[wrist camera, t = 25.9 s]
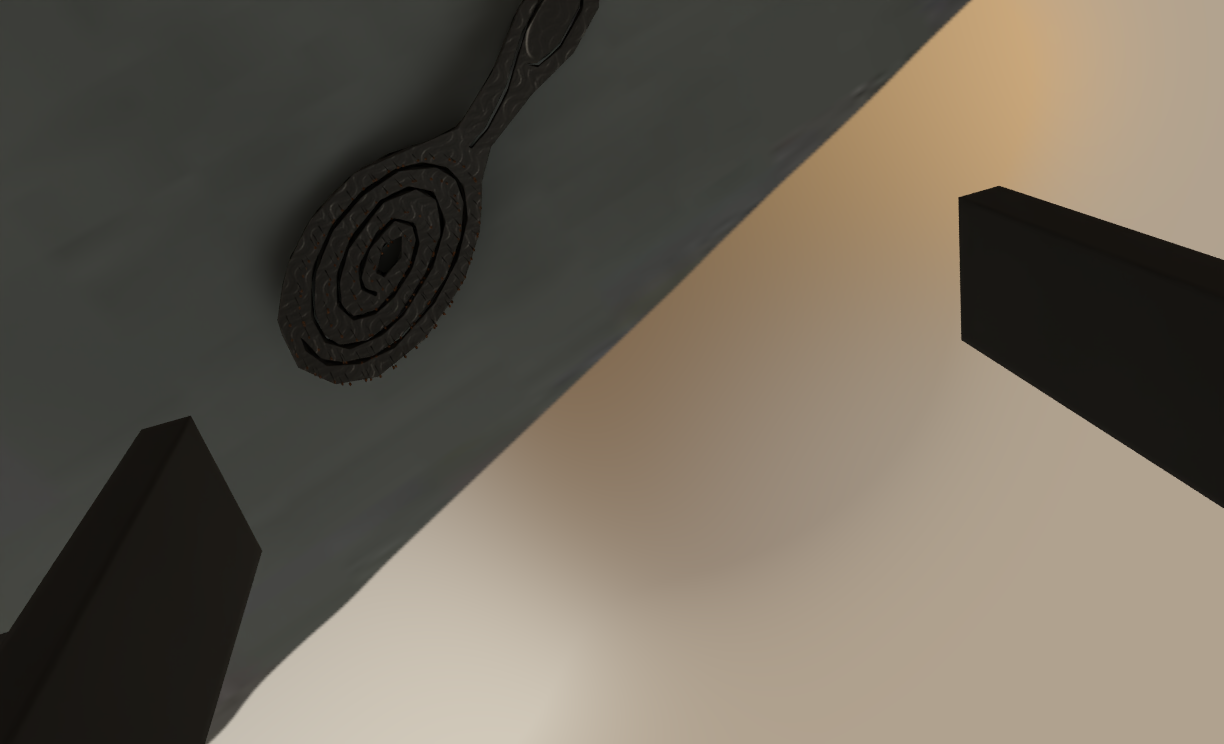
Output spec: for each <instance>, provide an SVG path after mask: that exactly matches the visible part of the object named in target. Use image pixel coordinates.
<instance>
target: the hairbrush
mask: <svg viewBox="0 0 1224 744" xmlns="http://www.w3.org/2000/svg"><path fill="white" fill-rule="evenodd" d="M579 1H580V9H579V11H578V13H577V15H576V17H575V19H574V21H573V23H572V25H571V27H570V29H569V31H568V32H567V34H566V36H565V38H564V39H563V41H562V43H561V45H560V46H559V47H558V48H557V49H556V50H555V51H554V52H553V53H552V54H551V55H550V56H549V57H548V58H547V59H546V60H544V61H543V62H542V63H541V64H540V65H528V64H530V63H537V62H539V61H540V60H542V59H543V58H544V57H546V56H547V55H548V54H549V53H550V52H551V51H552V50H553V49H554V48H555V47H556V46H557V45H558V44H559V43H560V42H561V40H562V38H563V36H564V34H565V32H566V30H567V29H568V27H569V25H570V23H571V21H572V19H573V17H574V15H575V13H576V11H577V10H578V8H579ZM537 2H538V0H523V1H522V3H521V4H520V6H519V8H518V10H517V12H516V14H515V16H514V18H513V21H512V23H511V26H510V29H509V31H508V33H507V35H506V38H505V40H504V42H503V45H502V48H501V50H500V53H499V55H498V58H497V60H496V63H495V65H494V68H493V69H492V71H491V73H490V75H489V77H488V78H487V80H486V82H485V83H484V85H483V87H482V88H481V90H480V92H479V93H478V95H477V97H476V98H475V100H474V102H473V103H472V105H471V106H470V108H469V110H468V111H467V113H466V115H465V116H464V118H463V119H462V120H461V121H460V122H459V123H458V125H457V126H456V127H454V128H452V129H450V130H448V131H447V132H445V133H443V134H441V135H439V136H437V137H436V138H434V139H432V140H430V141H427V142H424V143H420V144H416V145H412V146H410V147H408V148H405V149H402V150H399V151H396V152H393V153H389V154H387V155H385V156H383V157H381V158H379V159H378V160H376V161H375V162H373V163H372V164H370V165H367V166H365V167H363V168H362V169H360V170H359V171H357V172H356V173H355V174H354V175H352V176H351V177H349V178H348V179H347V180H346V181H345V182H344V183H343V184H342V185H341V186H340V187H339V188H338V189H337V190H336V191H335V192H334V193H333V194H332V195H330V197H329V198H328V199H327V200H326V202H325V203H324V204H323V205H322V206H321V207H320V208H319V209H318V210H317V212H316V213H315V215H314V216H313V218H312V219H311V220H310V222H309V223H308V225H307V226H306V228H305V230H304V232H303V234H302V236H301V238H300V240H299V242H298V245H297V247H296V248H295V250H294V252H293V254H292V255H291V257H290V261H289V264H288V266H287V270H286V274H285V278H284V282H283V286H282V292H281V299H280V306H279V313H278V323H279V326H280V330H281V333H282V335H283V337H284V339H285V341H286V343H287V346H288V348H289V350H290V352H291V354H292V356H293V358H294V360H295V362H296V364H297V366H298V368H301V369H303V370H305V371H307V372H309V373H312V374H314V375H315V376H318V377H319V378H323V379H325V380H327V381H330V382H332V383H334V384H339V383H341V384H342V385H343V383H345V382H349V385H350V386H351V385H352V384H351V383H350V381H356V380H362V379H365V381H366V382H367V379H368V378H370V381H372V378H373V377H378V376H380V378H381V377H382V376H381V374H382V373H383V372H384V371H386V370H387V369H388V368H389V367H391V366H393V364H394V363H396V362H397V361H398V360H399V359H400V358H402V357H403V356H404V357H405V358H406V357H407V356H405V354H407V353H408V352H409V351H410V350H412V349H413V348H414V347H415V348H416V349H417V348H418V347H417V345H418V344H419V343H420V342H422V341H423V340H424V339H425V338H427V337H428V336H427V335H428V334H429V332H430V331H431V330H432V328H433V327H434V329H435V328H436V327H437V324H436V322H437V321H438V319H439V318H440V316H441V315H442V314H443V315H446V314H445V313H444V311H445V309H446V307H447V306H448V305H449V303H450V301H451V303H453V301H452V298H453V297H454V295H455V294H456V292H457V290H460V289H459V287H460V286H461V284H463V281H464V280H465V278H466V274H467V270H468V267H469V265H470V263H471V262H470V261H471V260H472V254H473V251H475V249H474V248H475V245H476V242H477V238H478V237H479V236H478V235H479V232H480V223H481V222H480V217H481V209H482V207H481V199H482V179H483V175H484V171H485V167H486V164H487V160H488V156H489V152H490V148H491V146H492V145H493V144H494V142H495V141H496V140H497V138H498V137H499V136H500V135H501V133H502V132H503V131H504V130H505V128H506V127H507V126H508V124H509V123H510V122H511V121H512V119H513V118H514V117H515V115H516V114H517V113H518V112H519V110H520V109H521V108H522V106H523V105H524V104H525V103H526V101H527V100H528V99H529V97H530V96H531V95H532V94H533V93H534V92H535V91H536V90H537V89H538V88H539V87H540V86H541V85H542V84H543V83H544V82H545V81H546V80H547V79H548V78H549V77H550V76H551V75H552V74H553V73H554V72H555V71H556V70H557V69H558V68H559V67H560V66H561V65H562V64H563V63H564V62H565V61H566V60H567V59H568V58H569V57H570V56H571V55H572V54H573V53H574V51H575V49H576V47H577V46H578V44H579V42H580V40H581V38H582V37H583V35H584V33H585V31H586V29H587V28H588V26H589V24H590V22H591V20H592V19H593V17H594V15H595V13H596V11H597V9H598V8H599V0H542V1H541V2H540V4H539V5H538V6H537V7H536V8H535V6H536V4H537ZM534 8H535V11H534V13H533V15H532V17H531V18H530V16H531V14H532V12H533V10H534ZM529 18H530V19H529ZM528 20H529V22H528ZM527 22H528V25H527V28H526V31H525V34H524V37H523V41H522V44H521V47H520V50H519V52H518V55H517V59H516V62H515V66H514V69H513V72H512V76H511V79H510V83H509V86H508V89H507V91H506V93H505V95H504V98H503V100H502V102H501V104H500V106H499V108H498V109H497V111H496V113H495V115H494V117H493V119H492V121H491V123H490V125H489V126H488V128H487V129H486V131H485V132H484V133H483V134H482V135H481V137H480V138H479V139H478V140H477V141H476V142H475V143H474V145H473V146H472V147H470V146H469V145H470V144H471V143H472V142H473V141H474V140H475V138H476V137H477V136H478V135H479V134H480V133H481V132H482V131H483V130H484V128H485V127H486V125H487V123H488V121H489V119H490V117H491V115H492V113H493V111H494V109H495V107H496V105H497V103H498V101H499V99H500V97H501V95H502V93H503V91H504V89H505V87H506V84H507V80H508V77H509V73H510V70H511V67H512V63H513V60H514V56H515V53H516V50H517V46H518V43H519V39H520V36H521V34H522V32H523V30H524V28H525V26H526V24H527ZM420 162H425V163H430V164H435V165H440V166H445V167H448V168H449V169H450V170H451V171H452V173H453V174H454V175H455V176H456V177H457V178H458V180H459V181H460V183H461V185H462V186H463V191H464V195H465V200H466V223H465V228H464V233H463V238H462V241H461V244H460V247H459V249H458V252H457V255H456V258H455V261H454V264H453V267H452V270H451V273H450V275H449V276H448V278H447V279H446V281H445V282H444V284H443V286H442V287H441V289H440V290H439V292H438V294H437V295H436V297H435V298H434V300H433V302H432V303H431V301H430V300H431V299H432V297H433V296H434V294H435V293H437V290H438V288H439V287H440V285H441V284H442V282H443V281H444V279H445V278H446V275H447V272H448V270H449V267H451V266H450V264H451V261H452V259H453V256H454V254H455V253H456V252H455V250H456V248H457V245H458V242H459V240H460V236H461V228H462V218H463V198H462V194H461V190H460V188H459V186H458V184H457V182H456V180H455V178H454V177H453V175H452V174H450V173H449V172H447V171H446V170H444V169H442V168H439V167H434V166H423V165H415V166H411V167H409V168H406V169H404V170H402V171H399V172H397V173H395V174H392V175H390V176H388V177H386V178H384V179H383V180H381V181H379V182H378V183H376V184H375V185H374V186H373V187H372V188H371V189H370V190H369V191H368V192H367V193H366V194H364V195H363V196H362V197H361V198H360V199H359V200H358V201H357V202H356V203H355V204H354V205H353V206H352V207H351V208H350V209H349V210H348V211H347V212H346V214H345V215H344V216H343V218H342V219H341V221H340V222H339V223H338V225H337V226H336V228H335V229H334V231H333V232H332V234H331V236H330V238H329V240H328V241H327V243H326V246H325V249H324V251H323V254H322V257H321V261H320V264H319V267H318V270H317V273H316V288H315V313H316V315H317V318H318V321H319V323H320V326H321V328H322V330H321V328H320V326H319V325H318V323H317V321H316V319H315V317H314V307H313V297H312V288H311V283H312V279H313V275H314V271H315V267H316V263H317V259H318V255H319V252H320V249H321V247H322V245H323V243H324V241H325V238H326V236H327V235H328V233H329V232H330V230H331V229H332V227H333V226H334V224H335V223H336V221H337V220H338V218H339V217H340V215H341V214H342V213H343V211H344V210H345V209H346V208H347V207H348V206H349V205H350V203H351V202H352V201H353V200H354V199H355V198H356V197H357V195H358V194H359V193H360V192H361V191H362V190H365V188H366V187H368V186H369V185H371V184H372V183H374V182H375V181H377V180H379V179H380V178H382V177H383V176H385V175H386V174H388V173H389V172H391V171H392V170H394V169H396V168H397V169H399V168H400V167H404V166H408V165H412V164H416V163H420ZM406 187H415V188H413V189H410V190H407V191H403V192H401V193H398V194H395V195H393V196H391V197H390V198H388V199H386V200H385V201H383V203H382V204H381V205H380V206H379V207H378V208H377V210H376V211H375V212H374V213H373V214H372V216H371V217H370V218H369V219H368V220H367V222H366V223H365V225H364V226H363V228H362V229H361V231H360V232H359V233H358V235H357V236H356V238H355V240H354V241H353V243H352V245H351V247H350V248H349V251H348V254H347V257H346V260H345V263H344V265H343V269H342V272H341V275H340V289H341V298H342V303H341V302H340V301H339V295H338V282H339V267H340V264H341V260H342V258H343V255H344V253H345V250H346V248H347V246H348V245H349V243H350V241H351V239H352V237H353V236H354V234H355V232H356V230H357V229H358V227H359V226H360V225H361V223H362V222H363V221H364V220H365V218H366V217H367V216H368V215H369V213H370V212H371V211H372V210H373V208H374V207H375V206H376V205H377V204H378V203H379V202H381V201H382V200H383V199H384V198H385V197H387V196H389V195H391V194H393V193H395V192H397V191H399V190H402V189H404V188H406ZM419 188H420V189H419ZM422 189H425V190H429V191H432V192H433V193H434V194H435V195H436V198H437V200H438V203H439V205H440V208H441V210H442V215H443V217H442V238H441V242H440V246H439V249H438V253H437V255H436V256H435V258H434V260H433V262H432V264H431V265H430V267H429V268H427V267H428V264H429V262H430V259H431V257H434V255H435V252H434V249H435V247H436V245H437V242H438V240H439V237H440V235H441V233H440V217H439V212H438V207H437V201H436V198H435V197H434V196H432V195H431V194H429V193H427V192H426V191H424V190H422ZM392 219H396V220H394V221H393V222H391V223H390V224H389V225H387V226H386V227H385V228H384V229H383V230H382V231H381V233H380V234H379V235H378V236H377V237H376V239H375V241H374V242H373V243H372V246H371V248H370V250H369V252H368V254H367V257H366V260H365V263H364V267H363V274H362V280H363V283H364V285H365V286H363V285H362V284H361V283H360V271H361V264H362V258H363V256H364V255H365V253H366V251H367V249H368V247H369V245H370V243H371V241H372V239H373V238H374V236H375V234H376V232H377V231H378V230H379V229H380V230H381V229H382V228H381V227H383V226H385V224H386V223H387V222H389V221H390V220H392ZM405 220H406V221H405ZM408 221H410V222H412V224H411V223H409V222H408ZM413 225H414V227H415V229H416V230H417V235H418V247H417V253H416V256H415V258H414V260H413V263H412V262H411V261H410V260H411V257H412V253H413V251H414V247H415V243H416V236H415V229H414V227H413ZM398 237H402V247H401V251H400V255H399V258H398V260H397V262H396V263H395V264H394V265H393V266H392V267H391V268H390V269H389V270H388V271H387V272H385V273H383V272H381V271H380V270H378V264H379V260H380V256H381V254H382V255H383V252H382V248H383V247H384V246H385V245H386V243H387V242H389V241H391V240H394V239H396V238H398ZM391 243H393V241H391ZM387 247H389V245H388V244H387ZM432 254H433V255H432ZM411 263H412V265H411V267H410V266H409V264H411ZM409 267H410V269H409V271H408V273H407V275H406V277H405V275H404V273H405V271H406V270H407V268H409ZM426 269H427V270H428V271H427V273H426V274H425V271H426ZM424 274H425V276H424ZM402 276H403V277H405V279H404V281H403V283H402V284H401V285H400V287H399V288H398V289H397V285H398V283H399V282H400V280H401V278H402ZM423 276H424V277H423ZM422 277H423V280H422V281H421V279H422ZM420 281H421V283H420V285H419V287H418V289H417V291H416V292H415V294H413V295H414V296H413V298H412V300H411V299H409V298H410V296H411V295H412V293H413V291H414V290H415V288H416V287H417V285H418V284H419V282H420ZM395 288H396V289H397V290H396V289H395ZM368 289H369V290H372V291H369V290H368ZM393 291H395V293H394V294H393V295H392V296H391V298H390V299H389V300H388V298H387V297H388V296H389V295H390V294H391V293H392V292H393ZM385 299H386V300H387V302H386V303H385V304H384V305H383V306H381V307H380V308H378V307H379V306H380V305H381V304H382V303H383V302H384V300H385ZM408 299H409V302H410V303H409V305H408V306H406V302H407V301H408ZM430 303H431V305H430V306H429V307H428V308H427V309H426V310H425V312H424V313H423V314H422V315H420V314H421V313H422V312H423V311H424V309H425V308H426V306H427V305H429V304H430ZM404 306H406V307H405V308H406V309H405V310H404V312H403V313H402V314H401V315H400V316H399V317H398V315H399V313H400V312H401V310H402V309H403V307H404ZM344 307H345V308H346V309H347V310H348V311H349V312H350V313H351V314H352V315H350V314H348V312H347V311H346V309H345V308H344ZM449 307H451V305H449ZM377 308H378V309H377ZM372 310H374V311H372ZM369 311H372V312H370V313H369V314H366V315H359V314H362V313H366V312H369ZM418 316H419V319H418V320H417V321H416V322H414V321H415V320H416V319H417V318H418ZM390 322H391V323H390ZM413 322H414V323H413ZM389 323H390V324H389ZM412 323H413V326H411V324H412ZM386 325H387V326H386ZM434 325H435V326H434ZM410 326H411V327H410ZM383 327H384V328H383ZM409 327H410V329H409V330H408V332H407V333H406V334H405V335H404V336H403V337H401V336H402V335H403V333H404V332H405V331H406V330H407V329H408V328H409ZM382 328H383V329H382ZM381 329H382V330H381ZM379 330H381V331H379ZM378 331H379V332H378ZM376 332H378V333H377V334H375V333H376ZM374 334H375V335H374ZM325 335H326V336H327V337H329V338H330V339H332V340H330V339H327V338H326V337H325ZM371 336H372V337H371ZM369 337H371V338H370V339H369V340H367V339H368V338H369ZM399 337H400V339H398V338H399ZM396 339H398V340H397V341H395V340H396ZM363 340H365V341H363ZM358 341H360V342H358ZM352 342H354V343H352ZM392 342H394V343H392ZM347 343H349V344H347ZM391 343H392V344H391ZM389 344H391V345H389ZM385 347H386V348H385ZM382 349H383V350H382ZM368 356H370V357H368ZM364 357H366V358H364ZM360 358H361V359H360ZM395 367H397V366H396V365H395ZM395 367H394V366H393V370H394V369H395ZM343 386H344V385H343Z"/></svg>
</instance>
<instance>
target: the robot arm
mask: <svg viewBox="0 0 1224 744" xmlns="http://www.w3.org/2000/svg"><path fill="white" fill-rule="evenodd" d="M959 246H960V292H961V339H962V341H964V342H966V343H967V344H969V345H970V346H972V347H973V348H975V349H977V350H978V351H979V352H981V353H983V354H984V355H986V356H987V357H989V358H990V359H992V360H993V361H995V362H997V363H998V364H1000V365H1001V366H1003V367H1004V368H1006V369H1008V370H1009V371H1011V372H1012V373H1014V374H1015V375H1017V376H1019V377H1020V378H1022V379H1023V380H1025V381H1026V382H1028V383H1029V384H1031V385H1032V386H1034V387H1036V388H1037V389H1039V390H1040V391H1042V392H1043V393H1045V394H1047V395H1048V396H1050V397H1051V398H1053V399H1054V400H1056V401H1058V402H1059V403H1061V404H1062V405H1064V406H1065V407H1067V408H1068V409H1070V410H1071V411H1073V412H1074V413H1076V414H1078V415H1079V416H1081V417H1082V418H1084V419H1086V420H1087V421H1089V422H1090V423H1092V424H1093V425H1095V426H1096V427H1098V428H1099V429H1101V430H1103V431H1104V432H1106V433H1107V434H1109V435H1110V436H1112V437H1114V438H1115V439H1117V440H1118V441H1120V442H1121V443H1123V444H1124V445H1126V446H1127V447H1129V448H1131V449H1132V450H1134V451H1135V452H1137V453H1138V454H1140V455H1142V456H1143V457H1145V458H1146V459H1148V460H1149V461H1151V462H1152V463H1154V464H1156V465H1157V466H1159V467H1160V468H1162V469H1164V470H1165V471H1167V472H1168V473H1170V474H1171V475H1173V476H1174V477H1176V478H1177V479H1179V480H1180V481H1182V482H1184V483H1185V484H1187V485H1188V486H1190V487H1191V488H1193V489H1194V490H1196V491H1198V492H1199V493H1201V494H1202V495H1204V496H1205V497H1207V498H1209V499H1210V500H1212V501H1213V502H1215V503H1216V504H1218V505H1219V506H1221V507H1223V508H1224V260H1222V259H1219V258H1216V257H1213V256H1210V255H1207V254H1204V253H1201V252H1198V251H1195V250H1192V249H1189V248H1186V247H1183V246H1180V245H1177V244H1174V243H1171V242H1167V241H1164V240H1162V239H1159V238H1155V237H1152V236H1149V235H1146V234H1143V233H1140V232H1137V231H1134V230H1131V229H1128V228H1125V227H1122V226H1119V225H1116V224H1113V223H1110V222H1107V221H1104V220H1101V219H1098V218H1095V217H1092V216H1089V215H1086V214H1083V213H1080V212H1077V211H1074V210H1071V209H1068V208H1065V207H1062V206H1059V205H1056V204H1053V203H1050V202H1047V201H1044V200H1041V199H1037V198H1034V197H1032V196H1029V195H1025V194H1023V193H1019V192H1016V191H1013V190H1010V189H1007V188H1004V187H1001V186H997V187H993V188H990V189H986V190H983V191H980V192H976V193H972V194H969V195H965V196H962V197H959ZM261 553H262V550H261V548H260V546H259V544H258V542H257V540H256V538H255V536H254V535H253V533H252V531H251V529H250V527H249V525H248V523H247V521H246V519H245V518H244V516H243V514H242V512H241V510H240V508H239V506H238V504H237V502H236V501H235V499H234V497H233V495H232V493H231V491H230V489H229V487H228V485H227V484H226V482H225V480H224V478H223V476H222V474H221V472H220V470H219V468H218V467H217V465H216V463H215V461H214V459H213V457H212V455H211V453H210V451H209V450H208V448H207V446H206V444H205V442H204V440H203V438H202V436H201V434H200V433H199V431H198V429H197V427H196V425H195V423H194V421H193V419H192V417H191V416H188V417H184V418H181V419H177V420H174V421H170V422H167V423H163V424H160V425H156V426H153V427H149V428H146V429H142V430H141V431H140V433H139V434H138V436H137V437H136V439H135V440H134V442H133V443H132V445H131V446H130V448H129V449H128V451H127V452H126V454H125V455H124V457H123V459H122V460H121V462H120V463H119V465H118V466H117V468H116V469H115V471H114V472H113V474H112V475H111V477H110V478H109V480H108V481H107V483H106V484H105V486H104V487H103V489H102V490H101V492H100V494H99V495H98V497H97V498H96V500H95V501H94V503H93V504H92V506H91V507H90V509H89V510H88V512H87V513H86V515H85V516H84V518H83V519H82V521H81V522H80V524H79V525H78V527H77V529H76V530H75V532H74V533H73V535H72V536H71V538H70V539H69V541H68V542H67V544H66V545H65V547H64V548H63V550H62V551H61V553H60V554H59V556H58V557H57V559H56V560H55V562H54V563H53V565H52V567H51V568H50V570H49V571H48V573H47V574H46V576H45V577H44V579H43V580H42V582H41V583H40V585H39V586H38V588H37V589H36V591H35V592H34V594H33V595H32V597H31V598H30V600H29V602H28V603H27V605H26V606H25V608H24V609H23V611H22V612H21V614H20V615H19V617H18V618H17V620H16V621H15V623H14V624H13V626H12V627H11V629H10V630H9V632H7V633H3V634H0V744H205V741H206V738H207V735H208V731H209V728H210V725H211V721H212V718H213V715H214V711H215V708H216V704H217V701H218V698H219V694H220V691H221V688H222V684H223V681H224V677H225V674H226V671H227V667H228V664H229V661H230V657H231V654H232V650H233V647H234V644H235V640H236V637H237V634H238V630H239V627H240V623H241V620H242V617H243V613H244V610H245V607H246V603H247V600H248V596H249V593H250V590H251V586H252V583H253V580H254V576H255V573H256V569H257V566H258V563H259V559H260V556H261Z"/></svg>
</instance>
